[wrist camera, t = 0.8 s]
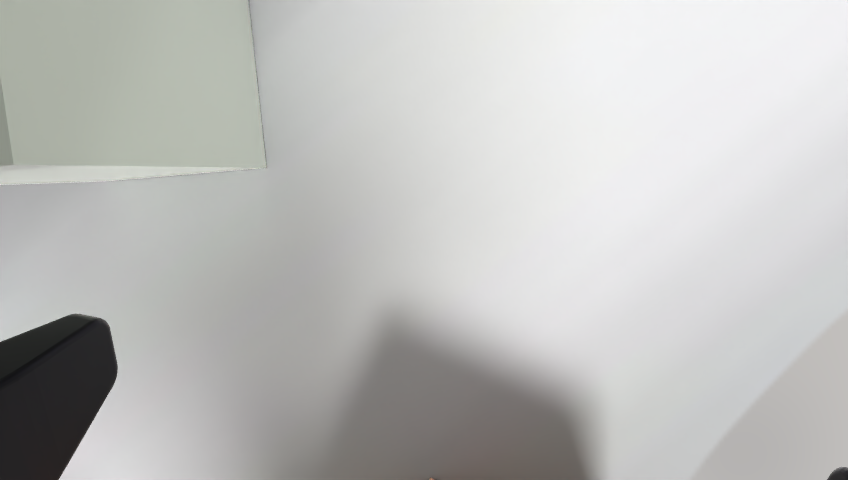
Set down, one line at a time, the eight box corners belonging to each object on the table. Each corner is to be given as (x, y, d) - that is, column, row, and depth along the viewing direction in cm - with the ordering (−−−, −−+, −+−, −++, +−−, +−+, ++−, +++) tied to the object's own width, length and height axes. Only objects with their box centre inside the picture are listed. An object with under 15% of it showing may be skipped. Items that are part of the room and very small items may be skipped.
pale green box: (266, 167, 21) (13, 164, 9) (105, 181, 22) (-357, 196, 9) (248, -3, 21) (-52, -262, 8) (83, 13, 21) (-446, -214, 9)
